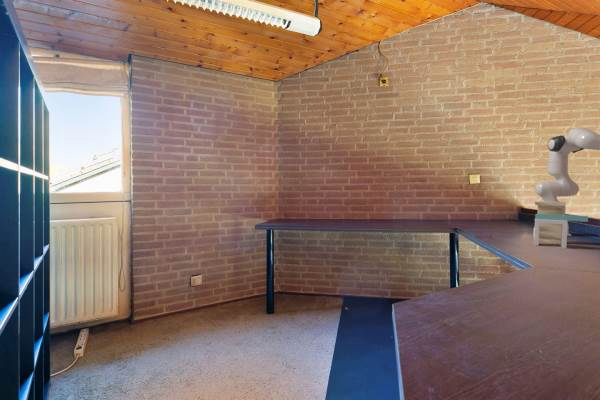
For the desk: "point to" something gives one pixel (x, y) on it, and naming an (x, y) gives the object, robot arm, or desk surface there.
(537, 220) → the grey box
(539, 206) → the birch shelf
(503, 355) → the desk surface
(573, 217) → the teal rectangular bar
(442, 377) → the desk surface
